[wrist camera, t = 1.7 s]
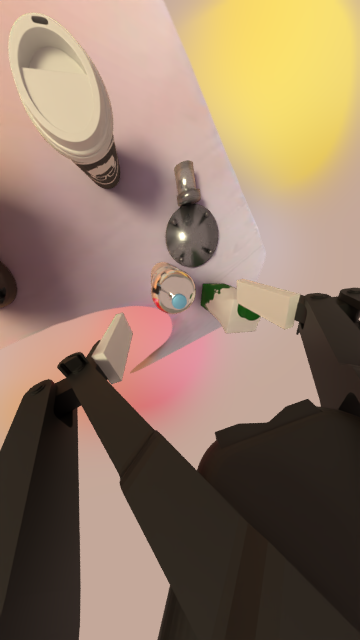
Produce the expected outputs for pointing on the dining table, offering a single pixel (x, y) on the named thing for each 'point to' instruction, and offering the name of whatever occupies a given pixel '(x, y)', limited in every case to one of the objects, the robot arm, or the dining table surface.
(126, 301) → the dining table surface
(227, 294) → the milk carton
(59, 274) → the dining table surface
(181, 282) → the water bottle
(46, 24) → the coffee cup
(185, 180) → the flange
